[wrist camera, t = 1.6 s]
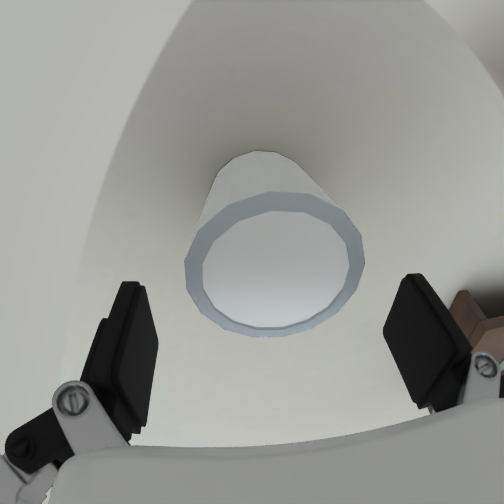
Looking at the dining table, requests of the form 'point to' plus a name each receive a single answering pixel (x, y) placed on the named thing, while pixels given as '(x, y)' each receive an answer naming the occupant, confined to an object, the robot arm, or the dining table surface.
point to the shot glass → (271, 250)
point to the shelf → (478, 328)
